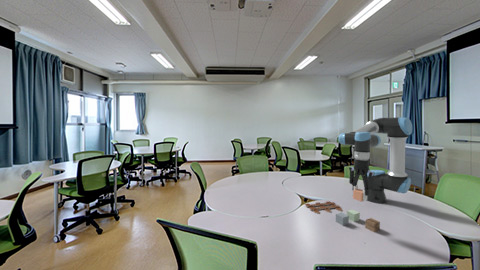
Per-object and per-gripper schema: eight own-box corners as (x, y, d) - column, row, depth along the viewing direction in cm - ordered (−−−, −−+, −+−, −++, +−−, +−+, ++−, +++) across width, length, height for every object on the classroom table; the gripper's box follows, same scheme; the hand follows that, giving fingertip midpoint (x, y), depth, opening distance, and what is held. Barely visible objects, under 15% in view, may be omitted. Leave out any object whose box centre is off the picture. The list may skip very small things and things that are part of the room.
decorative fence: (303, 205, 146) (314, 214, 131) (303, 203, 146) (314, 212, 131) (330, 202, 150) (344, 211, 136) (330, 200, 150) (344, 209, 135)
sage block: (352, 216, 127) (352, 209, 127) (359, 220, 123) (359, 212, 122) (346, 218, 125) (347, 210, 125) (354, 222, 121) (354, 214, 120)
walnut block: (370, 225, 116) (371, 217, 116) (379, 230, 112) (380, 221, 111) (365, 227, 114) (365, 219, 114) (373, 232, 110) (374, 223, 109)
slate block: (341, 220, 123) (341, 212, 123) (348, 223, 119) (348, 216, 118) (335, 221, 121) (335, 214, 121) (342, 225, 117) (343, 217, 116)
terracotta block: (358, 197, 116) (359, 188, 116) (367, 200, 112) (367, 191, 111) (353, 198, 114) (353, 190, 114) (361, 201, 110) (361, 192, 109)
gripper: (343, 156, 118) (341, 194, 120) (373, 162, 101) (371, 206, 103) (351, 155, 121) (350, 192, 123) (382, 161, 104) (380, 203, 106)
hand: (360, 198), depth 113 cm, fingers closed on terracotta block, 5 cm apart
